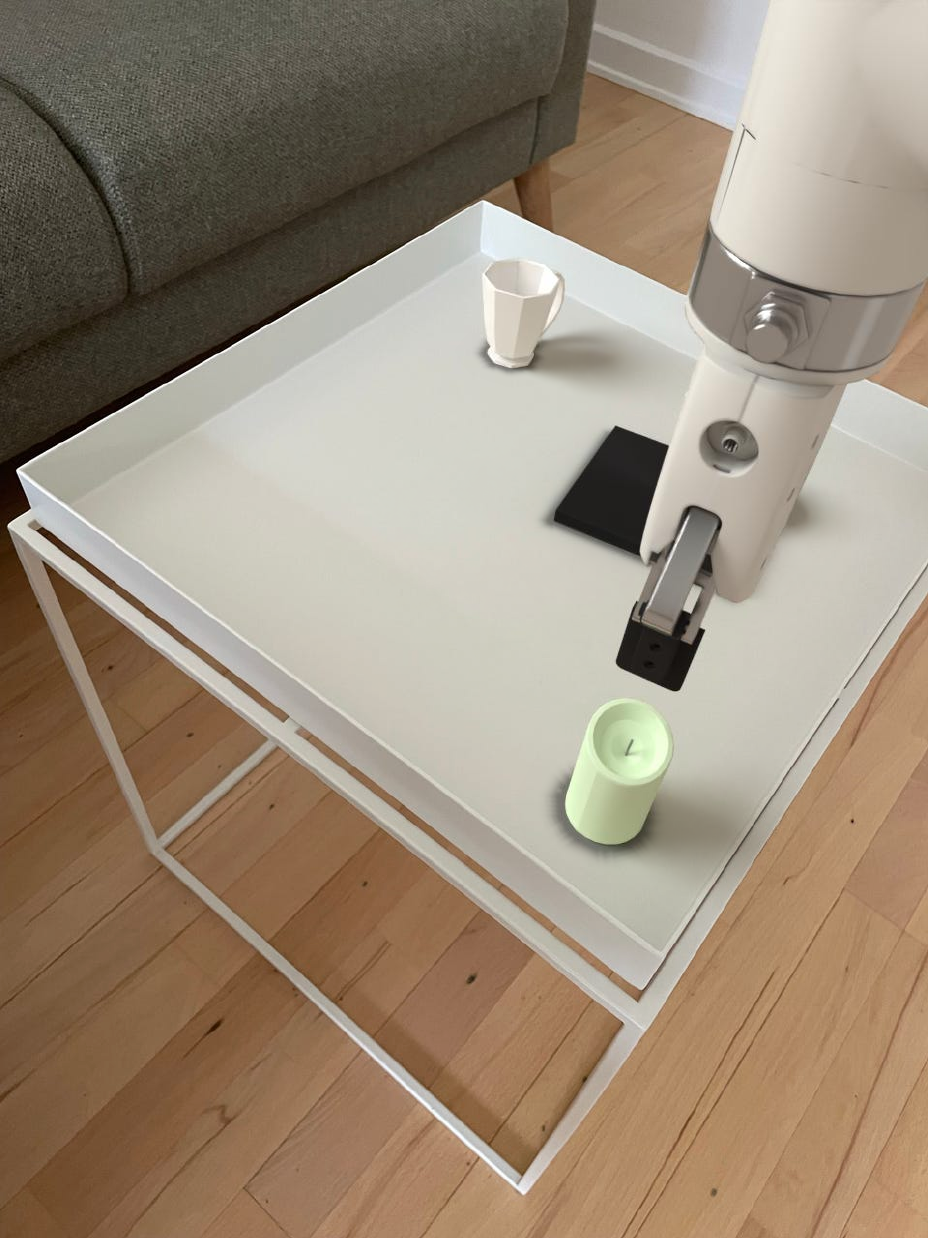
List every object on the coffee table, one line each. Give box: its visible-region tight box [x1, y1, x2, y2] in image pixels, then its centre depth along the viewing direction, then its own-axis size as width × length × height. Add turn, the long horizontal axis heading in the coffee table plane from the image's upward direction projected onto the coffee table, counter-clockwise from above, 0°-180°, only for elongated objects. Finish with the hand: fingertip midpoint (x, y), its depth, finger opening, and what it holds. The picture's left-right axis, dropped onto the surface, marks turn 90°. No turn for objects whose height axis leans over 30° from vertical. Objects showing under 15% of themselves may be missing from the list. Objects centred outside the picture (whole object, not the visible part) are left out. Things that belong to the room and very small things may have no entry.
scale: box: [553, 424, 676, 557], centre depth 79 cm, size 16×13×3 cm
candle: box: [564, 697, 675, 845], centre depth 58 cm, size 5×5×8 cm
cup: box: [481, 257, 566, 369], centre depth 91 cm, size 7×10×8 cm
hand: (675, 620), depth 48 cm, fingers open, 7 cm apart
